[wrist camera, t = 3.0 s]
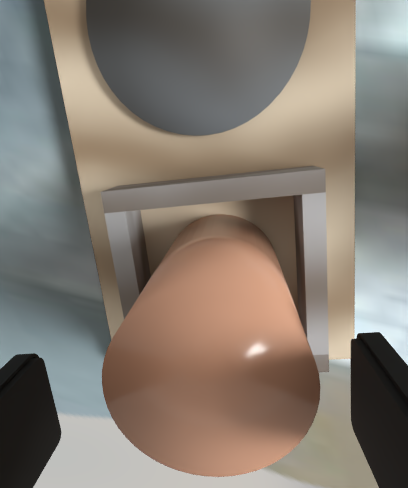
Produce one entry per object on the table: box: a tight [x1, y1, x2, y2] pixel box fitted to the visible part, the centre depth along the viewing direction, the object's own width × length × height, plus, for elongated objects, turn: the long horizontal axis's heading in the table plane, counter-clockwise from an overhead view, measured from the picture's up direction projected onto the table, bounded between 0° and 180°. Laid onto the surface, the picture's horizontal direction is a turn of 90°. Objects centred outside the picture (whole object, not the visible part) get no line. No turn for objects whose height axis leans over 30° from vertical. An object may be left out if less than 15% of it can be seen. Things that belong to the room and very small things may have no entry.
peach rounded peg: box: [102, 214, 320, 477], centre depth 15 cm, size 8×6×10 cm
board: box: [44, 0, 355, 372], centre depth 17 cm, size 24×14×4 cm, turn 6°
